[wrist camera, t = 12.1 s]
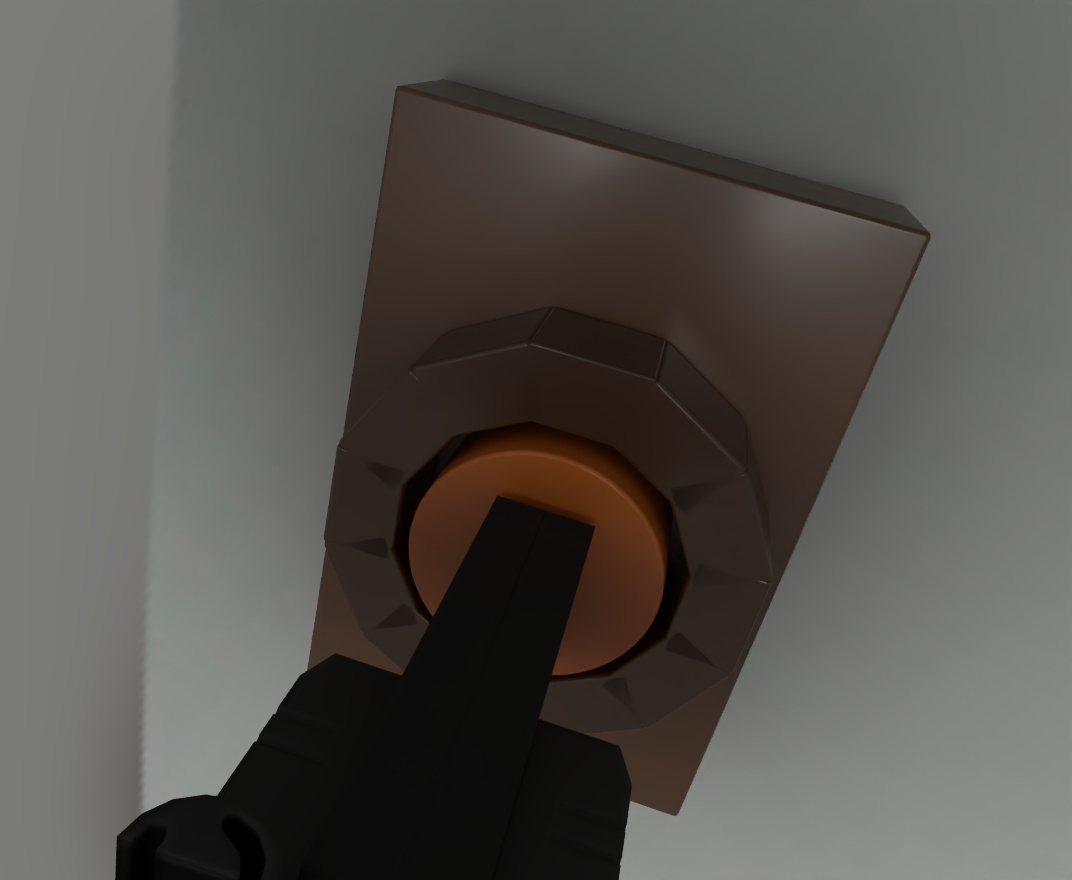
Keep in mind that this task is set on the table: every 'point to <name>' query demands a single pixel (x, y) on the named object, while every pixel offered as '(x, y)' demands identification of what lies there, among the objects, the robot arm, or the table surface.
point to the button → (565, 489)
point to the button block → (607, 378)
